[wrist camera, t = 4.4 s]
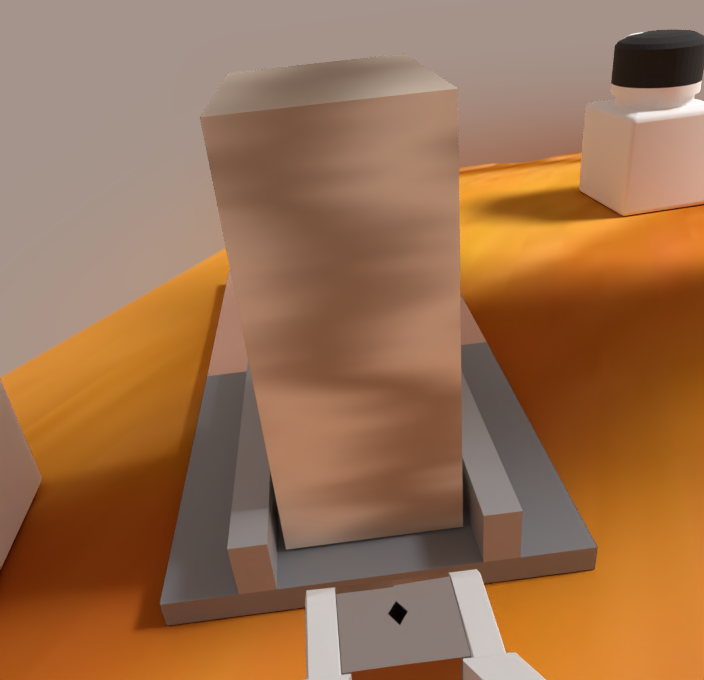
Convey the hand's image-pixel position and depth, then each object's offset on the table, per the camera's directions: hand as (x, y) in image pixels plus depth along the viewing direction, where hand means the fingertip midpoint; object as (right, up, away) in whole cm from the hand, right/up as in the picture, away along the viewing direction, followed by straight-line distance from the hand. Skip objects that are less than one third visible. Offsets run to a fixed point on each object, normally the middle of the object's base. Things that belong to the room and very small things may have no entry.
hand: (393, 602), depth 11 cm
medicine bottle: (+22, +16, +41) cm, 49 cm away
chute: (-1, +3, +22) cm, 22 cm away
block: (0, 0, +14) cm, 14 cm away
